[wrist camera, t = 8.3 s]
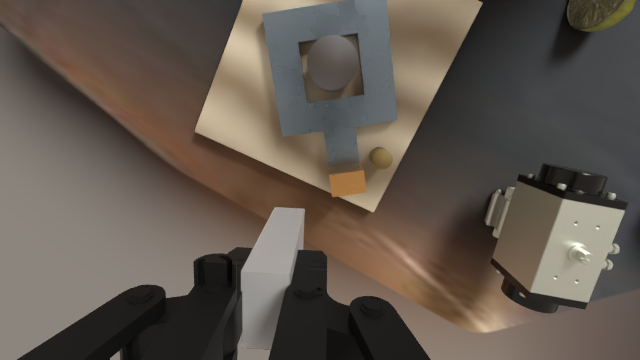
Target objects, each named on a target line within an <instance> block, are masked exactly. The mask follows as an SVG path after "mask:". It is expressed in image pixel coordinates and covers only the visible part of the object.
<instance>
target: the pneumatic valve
mask: <svg viewBox="0 0 640 360" xmlns="http://www.w3.org/2000/svg"><path fill="white" fill-rule="evenodd" d="M607 179H608V177H606V176H603V175H599V174H595V173H591V172H586V171H582V170H577V169H572V168H568V167H563V166H558V165H552V164H546V163H543V164H542V167H541V170H540V173H539V175H538V178H536V177H535V174H531V173H528V176H526V175H520V174H519V176H518V179H517V182H516V185H515V187H507V190H506V193H505V195H502V191H501V190H500V189H498V190H496V192H495V193H493V194H492V197H491V201H490V204H489V207H488V210H487V214H486V217H485V220H484V221H485V222H486V225H488V226H491V225H492V226H493V227H495V228H494V231H493V234H492V235H493V236H494V237H496V238H498V241H497V244H496V247H495V250H494V254H493V257H492V260H491V264H492V265H493V266H494V267H495V268H496V269H497V270H496V272H497V273H499V274H502V275H503V276H504V280H503V283H502V286H501V290H502V292H503V293H504V294H505V295H506V296H507V297H508V298H510V299H511V300H513V301H514V302H516V303H518V304H520V305H522V306H524V307H526V308H529V309H531V310H534V311H537V312H542V313H555V312H556V311H557V310H558V307H559V305H564V306H569V307H575V308H581V309H586V306H587V304H588V301H589V299H590V296H591V294H592V291H593V289H594V286H595V284H596V281H597V279H598V276H599V274H600V271H601V269H604V270H610V269H612V267H613V263H612V262H611V261H610V260H607V259H606V257H607V254H608V253H609V254H617V253H618V252H619V246H618V245H617V244H612V242H613V239H614V237H615V234H616V232H617V229H618V227H619V224H620V222H621V219H622V217H623V214H624V212H625V210H626V207H627V205H628V202H624V201H621V200H618V199H615V197H616V194H614V193H609V192H607V194H603V193H602V192H603V189H604V187H605V184H606V182H607ZM605 259H606V260H605Z"/></svg>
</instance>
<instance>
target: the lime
mask: <svg viewBox="0 0 640 360" xmlns="http://www.w3.org/2000/svg"><path fill="white" fill-rule="evenodd" d="M636 1H637V0H570V1H569V4H568V7H567V18H568V22H569V23H570V26H571V27H573V28H575V29H578V30H581V31H588V32H593V31H601V30H604V29H607V28H609V27H611V26H613V25H615V24H617V23H618V22H620V21H621V20H622V19H623V18H624V17H626V16H627V15H628V14H629V13H630V12H631V10H632V9H633V7H634V4H635V3H636Z"/></svg>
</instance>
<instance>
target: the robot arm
mask: <svg viewBox="0 0 640 360" xmlns="http://www.w3.org/2000/svg"><path fill="white" fill-rule="evenodd" d="M304 214H305V209H300V208H282V207H275V208H274V209H273V211H272V213H271V215H270V217H269V219H268V221H267V223H266V225H265V227H264V228H263V230H262V232H261V234H260V236H259V238H258V240H257V242H256V244H255V246H254V247H253V248H241V247H237V248H235V249H233V250H232V251H230V252H229V253H228V254H210V255H205V256H202V257H200V258H198V259H196V260H195V261H194V284H195V285H194V287H193V289H192V290H191V291H190V293H189V294H188V295H186V296H180V297H172V298H166V294H165V290H164V289H163V288H162V287H160V286H157V285H140V286H137V287H134V288H130V289H128V290H127V291H124V292H123V293H121V294H119V295H118V296H116V297H115V298H113V299H111V300H110V301H108V302H107V303H105V304H104V305H102V306H101V307H99V308H97V309H96V310H94V311H93V312H91V313H89V314H88V315H87V316H85V317H83V318H82V319H80V320H78V321H77V322H75V323H74V324H72V325H71V326H69V327H68V328H66V329H65V330H63V331H61V332H60V333H58V334H56V335H55V336H53V337H52V338H50V339H49V340H47V341H46V342H44V343H42V344H41V345H39V346H38V347H36V348H34V349H33V350H31V351H30V352H28V353H27V354H25V355H23V356H22V357H20V358H19V359H17V360H110V358H111V357H112V356H113V355H114V354H115V353H117V352H118V351H120V360H237V344H238V342H239V339H240V336H241V348H248V349H264V350H271V351H270V356H269V360H430V358H429V357H428V355H427V354H426V352H425V351H424V350H423V348H422V347H421V345H420V344H419V343H418V341H417V340H416V338H415V337H414V335H413V334H412V333H411V331H410V330H409V329H408V327H407V326H406V324H405V323H404V321H403V320H402V319H401V317H400V316H399V314H398V313H397V311H396V310H395V309H394V307H393V306H392V305H391V304H390V303H389V302H387V301H385V300H383V299H381V298H378V297H374V296H362V297H358V298H356V299H354V300H353V301H352V302H351V304H350V306H347V305H344V304H341V303H338V302H336V301H334V300H333V299H332V298H331V297H329V295H328V294H327V256H326V255H325V254H324V253H323V252H322V251H311V250H303V240H304Z"/></svg>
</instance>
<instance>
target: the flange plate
mask: <svg viewBox="0 0 640 360" xmlns="http://www.w3.org/2000/svg"><path fill="white" fill-rule="evenodd" d="M262 17H263V23H264V29H265V35H266V41H267V47H268V53H269V59H270V65H271V71H272V77H273V83H274V89H275V95H276V101H277V107H278V113H279V119H280V125H281V131H282V137H286V136H293V135H300V134H307V133H314V132H322V131H324V136H325V143H326V150H327V157H328V164H329V178H330V185H331V193H332V197H337V196H345V195H353V194H360V193H366V185H365V177H364V170H363V168H362V166H361V165H360V162H359V154H358V145H357V137H356V128H355V127H357V126H364V125H371V124H378V123H385V122H392V121H398V119H397V108H396V97H395V86H394V75H393V64H392V53H391V42H390V31H389V20H388V9H387V0H344V1H338V2H331V3H325V4H319V5H313V6H307V7H300V8H294V9H288V10H282V11H276V12H269V13H263V14H262ZM327 35H338V36H342V37H351V36H357V43H358V52H359V61H360V70H361V79H362V88H363V95H359V96H352V97H345V98H338V99H331V100H324V101H318V102H311V103H308V102H307V95H306V88H305V81H304V74H303V67H302V61H301V54H300V47H299V44H306V43H312V42H316V41H317V40H318V39H320V38H322V37H324V36H327Z"/></svg>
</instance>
